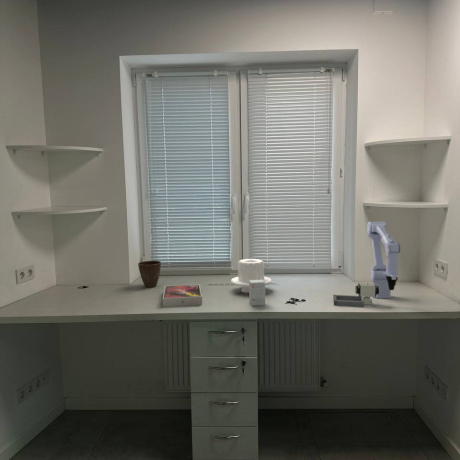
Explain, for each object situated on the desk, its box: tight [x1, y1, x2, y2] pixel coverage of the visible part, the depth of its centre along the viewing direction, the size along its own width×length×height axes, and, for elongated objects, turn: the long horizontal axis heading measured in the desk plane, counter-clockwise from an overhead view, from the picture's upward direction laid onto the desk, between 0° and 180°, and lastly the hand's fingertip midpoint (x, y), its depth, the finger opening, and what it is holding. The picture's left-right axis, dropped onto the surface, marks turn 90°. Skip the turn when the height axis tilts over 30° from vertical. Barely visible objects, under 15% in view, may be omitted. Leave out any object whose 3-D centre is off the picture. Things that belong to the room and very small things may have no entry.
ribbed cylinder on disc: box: [230, 258, 272, 294], centre depth 241 cm, size 25×25×19 cm
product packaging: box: [162, 283, 203, 308], centre depth 227 cm, size 22×28×5 cm
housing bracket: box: [332, 294, 365, 308], centre depth 213 cm, size 16×12×2 cm
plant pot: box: [137, 260, 162, 289], centre depth 255 cm, size 15×15×16 cm
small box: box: [248, 280, 266, 307], centre depth 213 cm, size 8×6×13 cm
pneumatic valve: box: [354, 282, 379, 306], centre depth 211 cm, size 6×12×12 cm, turn 81°
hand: (391, 289), depth 208 cm, fingers closed
